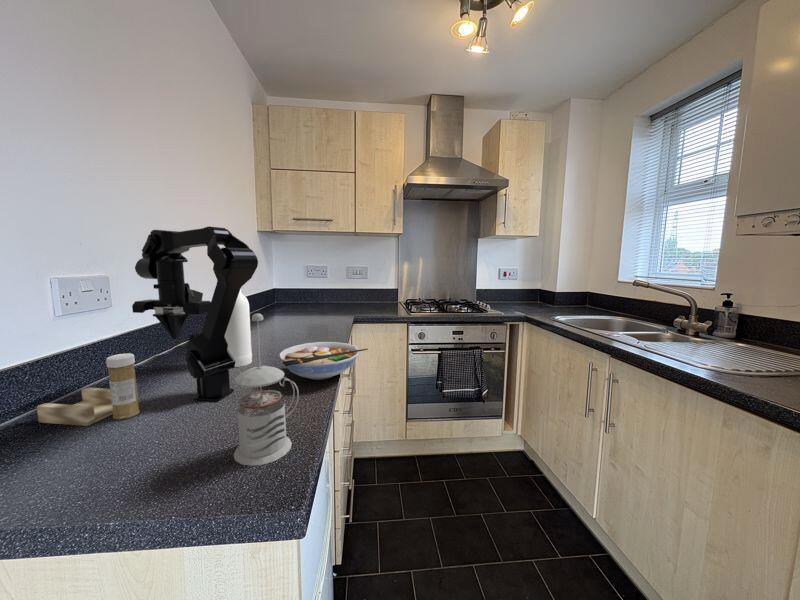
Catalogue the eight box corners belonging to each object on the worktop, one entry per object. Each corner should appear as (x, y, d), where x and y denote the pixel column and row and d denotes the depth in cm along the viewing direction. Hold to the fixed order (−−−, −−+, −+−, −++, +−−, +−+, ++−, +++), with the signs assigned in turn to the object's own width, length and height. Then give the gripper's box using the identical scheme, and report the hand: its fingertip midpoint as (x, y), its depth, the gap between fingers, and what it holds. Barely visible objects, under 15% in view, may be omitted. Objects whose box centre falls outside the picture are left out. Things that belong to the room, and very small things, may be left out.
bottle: (251, 365, 103) (246, 272, 99) (223, 368, 100) (217, 272, 96) (252, 358, 111) (248, 271, 107) (226, 361, 108) (221, 271, 104)
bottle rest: (133, 404, 76) (131, 390, 75) (87, 426, 66) (85, 409, 65) (89, 401, 77) (88, 387, 76) (38, 422, 67) (36, 406, 67)
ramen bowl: (341, 358, 112) (341, 335, 111) (377, 378, 94) (377, 351, 93) (266, 372, 97) (265, 346, 96) (290, 399, 79) (289, 367, 78)
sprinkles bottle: (141, 408, 73) (136, 351, 72) (137, 417, 69) (131, 357, 68) (115, 413, 71) (109, 354, 69) (109, 422, 67) (102, 360, 65)
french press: (225, 448, 59) (217, 313, 56) (286, 425, 67) (282, 306, 64) (245, 473, 52) (236, 321, 49) (310, 445, 60) (307, 312, 57)
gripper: (225, 278, 90) (228, 333, 92) (164, 277, 92) (169, 331, 94) (195, 281, 79) (199, 343, 81) (127, 280, 81) (133, 340, 83)
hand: (176, 339), depth 85 cm, fingers closed
